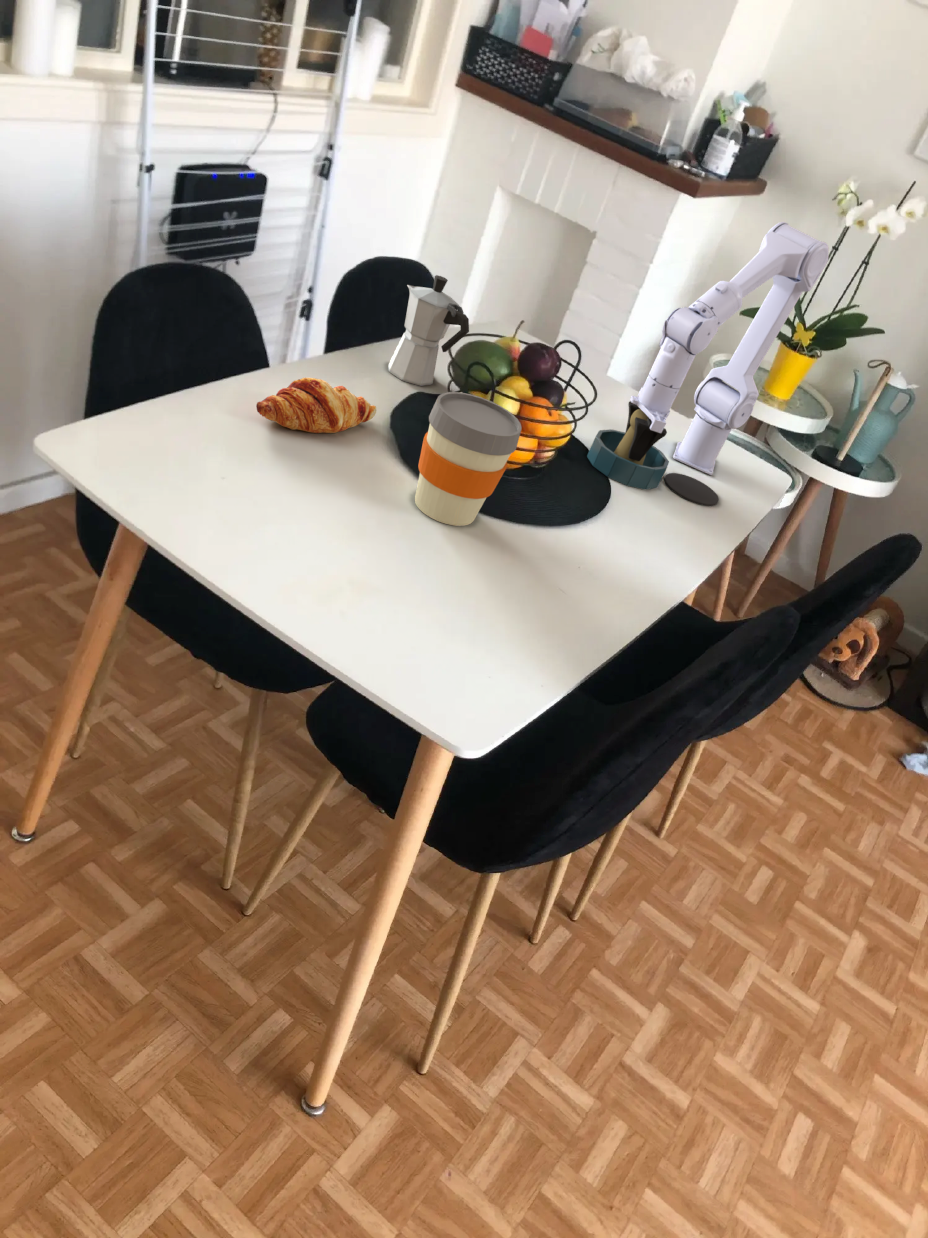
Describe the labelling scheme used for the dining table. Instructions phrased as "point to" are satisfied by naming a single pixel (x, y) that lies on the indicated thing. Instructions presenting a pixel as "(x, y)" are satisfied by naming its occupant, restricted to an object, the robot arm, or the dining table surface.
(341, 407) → the croissant
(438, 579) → the dining table surface
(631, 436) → the tan game pawn
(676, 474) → the black mat
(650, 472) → the teal hollow ring
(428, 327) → the coffee maker
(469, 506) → the reusable coffee cup
